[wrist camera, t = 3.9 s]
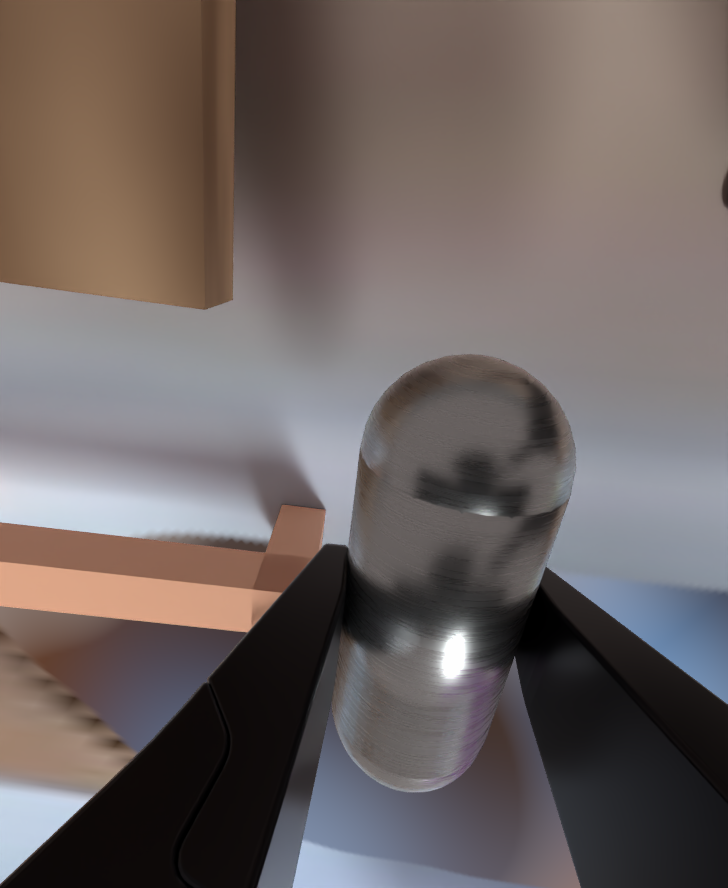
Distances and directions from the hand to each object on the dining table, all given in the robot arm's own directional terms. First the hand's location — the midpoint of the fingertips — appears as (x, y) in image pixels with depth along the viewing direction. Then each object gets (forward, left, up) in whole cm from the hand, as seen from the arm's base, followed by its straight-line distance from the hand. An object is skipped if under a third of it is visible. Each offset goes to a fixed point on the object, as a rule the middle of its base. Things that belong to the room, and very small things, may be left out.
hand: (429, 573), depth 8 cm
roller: (0, 0, -1) cm, 1 cm away
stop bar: (+11, +7, -11) cm, 17 cm away
